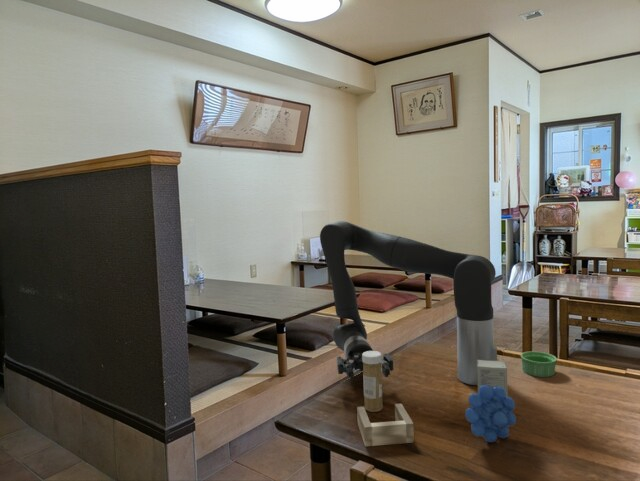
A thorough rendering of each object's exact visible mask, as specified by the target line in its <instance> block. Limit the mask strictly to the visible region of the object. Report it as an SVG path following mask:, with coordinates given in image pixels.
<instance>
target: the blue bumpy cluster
mask: <svg viewBox="0 0 640 481" xmlns="http://www.w3.org/2000/svg"><path fill="white" fill-rule="evenodd" d="M479 394H480V395H479ZM479 394H478V392H476V393H474V392H473V393H470V394H469V396H468V403H469V404H468V405H469V406H470V407H467V409H466V410H465V418H466V420H467V421H468V422H469V423H471V425H470V429H471V432H472V434H473V435H474V436H476V437H483V439H484V441H486V442H488V443H493V442H496V441H497V439H498V438H501V439H506V438H508V436H509V435H510V429H509V427H512V426H515V425H516V423H517V416H516V415H515V413H513V411H514V410H515V408H516V402H515V401H514V399H513V398H512V397H510V396H508V397H506V391H505V390H504V389H503V388H502V387H500V386H496V387H494V388H493V389H492V387H490V386H489V385H482V386H481V387H480V388H479Z"/></svg>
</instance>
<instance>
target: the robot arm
mask: <svg viewBox="0 0 640 481" xmlns="http://www.w3.org/2000/svg"><path fill="white" fill-rule="evenodd" d="M319 240H320V246H321V250H322V252H323V256H324V259H325V263H326V266H327V267H326V268H327V270H328V274H329V277H330V281H331V286H332V292H333V299H334V307H335V308H334V309H335V314H336V316H337V317H338V318H340V319H347V320H352V321H353V322H352V323H346V324H345V323H344V324H340V325H337V326H336V327H335V328H333V329H334V330H333V331H332V332H333V333H332V337H333V342H334V343H335V345H336V347H337V348H338V349H340V350H342V351H343V352H344V356H345V359H344V357H342V356H337V357H336V366H337V368H336V369H337V373H338V374H339V375H342V374H344V373H345V375H346V377H347V378H348V379H349V378H350V380H354V379H355V378H354V374H355V373H356V372H363V362H362V354H363V353H364V352H366V351H374V349H373V348H372V346H371V344H370V343H369V342H368V332H367V330H366V328H365V325H364V323H363V321H362V318H361V315H360V312H359V306H358V300H357V298H358V297H357V293H356V292H357V291H356V288H355V285H354V282H353V280H352V278H351V276H350V274H349V271H348V269H347V266H346V261H345V260H346V259H345V251H347V250H348V251H349V250H350V251H355V252H361V253H363V254H367V255H370V256H372V257H373V258H375V259H376V260H377V261H379V262H380V263H382V264H384V265H385V266H388V267H391V268H395V269H397V270H402V271H404V272H409V273H416V274H426V275H437V276H443V277H446V278H450V279H453V293H454V294H453V295H454V306H455V309H456V341H457V342H456V344H457V345H456V347H457V349H456V351H457V354H456V356H457V358H456V359H457V360H456V361H457V378H458V380H459V381H460V382H462V383H463V384H464V383H465V384H466V385H471V386H478V374H477V360H493V361H498V350H497V349H498V348H497V346H496V345H495V344H494V307H493V304H492V288H491V287H492V286H491V285H492V284H493V282H494V280H495V278H496V271H497V270H496V268H495V266H494V264H493V262H492V261H491V260H489V259H488V258H486V257H485V256H481V255H477V254H469V253H462V252H456V251H450V250H446V249H443V248H439V247H437V246H433V245H431V244H428V243H424V242H422V241H421V242H420V241H417V240H414V239H412V238H411V239H410V238H407V237H405V236H404V237H402V236H400V235H393V234H389V233H384V232H379V231H374V230H369V229H368V228H364V227H362V226H359V225H356V224H354V223H351V222H349V221H344V220H342V221H336V222H330V223H328V224H325V225H324V226H323V227H322V228H321V231H320V232H319ZM394 369H395V368H394V360H393V358H392V357H391V356H390V355H389V354H388V353H383V355H382V361H381V373H382V374H383V376H384V378H389V375H391V371H394Z"/></svg>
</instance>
